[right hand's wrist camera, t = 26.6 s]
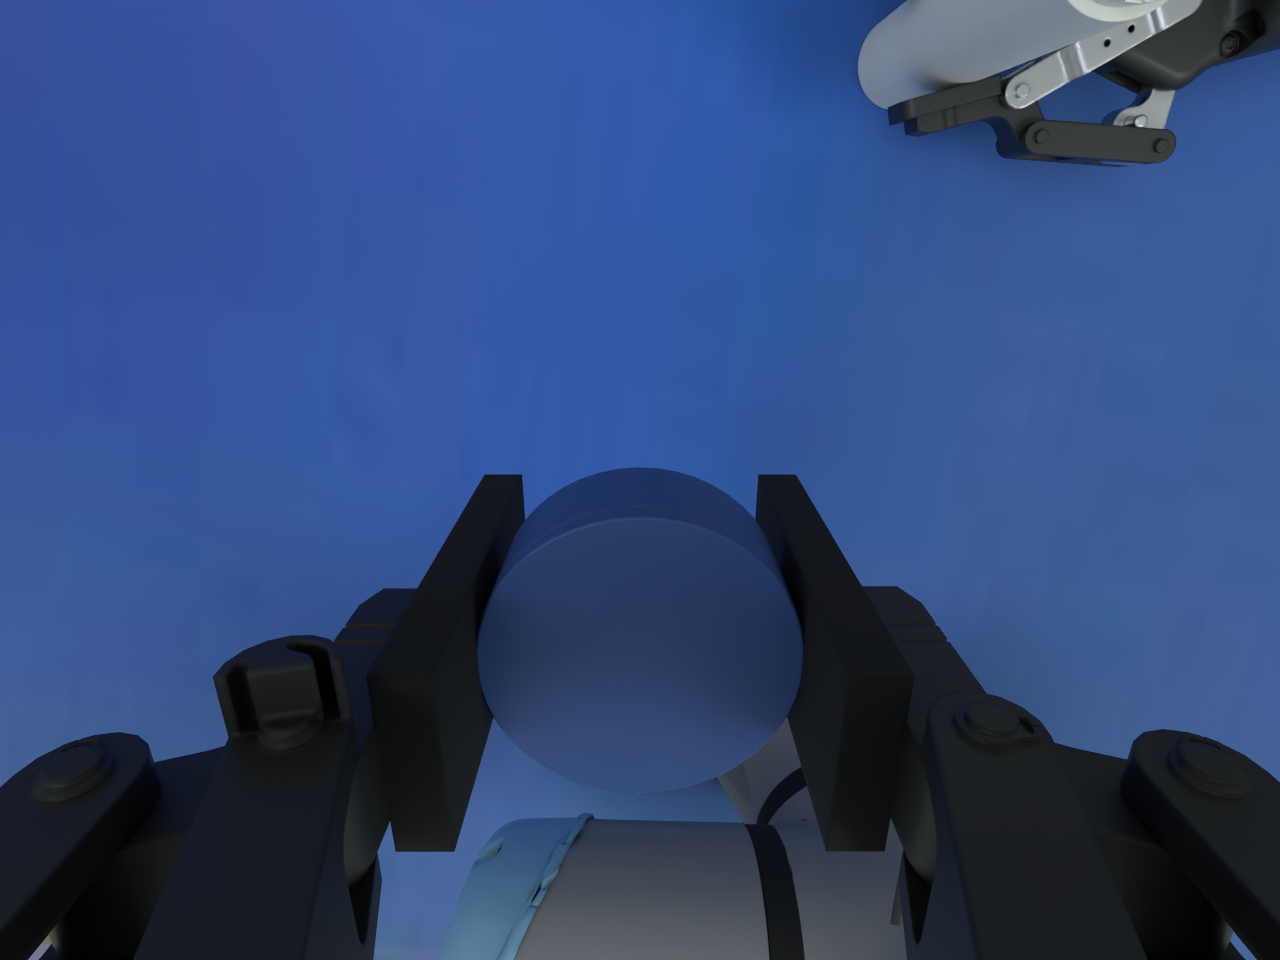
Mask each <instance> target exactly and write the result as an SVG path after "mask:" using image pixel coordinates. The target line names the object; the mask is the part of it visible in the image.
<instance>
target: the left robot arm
mask: <svg viewBox="0 0 1280 960" xmlns="http://www.w3.org/2000/svg"><path fill="white" fill-rule="evenodd" d="M1276 49H1280V0H1168V1H1167V2H1165V3H1164V4H1163V5H1161V6H1160V7H1158V8H1157V9H1155V10H1153V11H1152V12H1150V13H1148V14H1146V15H1143V16H1141V17H1139V18H1136V19H1134V20H1131V21H1129V22H1126V23H1124V24H1121V25H1119V26H1116V27H1114V28H1111V29H1108V30H1106V31H1103V32H1101V33H1098V34H1096V35H1093V36H1091V37H1088V38H1086V39H1083V40H1081V41H1078V42H1075V43H1073V44H1070V45H1068V46H1065V47H1063V48H1060V49H1058V50H1055V51H1053V52H1050V53H1048V54H1045V55H1042V56H1040V57H1037V58H1035V59H1032V60H1030V61H1027V62H1026V63H1025V64H1024V65H1022V66H1021V67H1019V68H1017V69H1016V70H1014V71H1012V72H1010V73H1009V74H1007V75H1005V76H1004V77H1002V78H1001V75H1000V74H999V75H995V76H992V77H988V78H984V79H981V80H978V81H975V82H970V83H966V84H963V85H959V86H955V87H952V88H948V89H944V90H941V91H937V92H933V93H930V94H926V95H923V96H919V97H915V98H912V99H908V100H905V101H902V102H899V103H897V104H894V105H892V106H890V107H888V117H889V126H890V125H894V124H898V123H902V122H904V127H905V135H911V136H917V137H918V136H922V135H926V134H929V133H933V132H937V131H941V130H944V129H948V128H952V127H955V126H959V125H963V124H967V123H970V122H974V121H984V122H987V123H988V124H990V125H991V126H992V128H993V130H994V132H995V134H996V136H997V141H996V150H997V152H998V154H999V155H1000V156H1001V157H1003V158H1009V159H1022V160H1035V161H1048V162H1060V163H1073V164H1086V165H1099V166H1112V167H1121V166H1131V165H1141V164H1152V163H1160V162H1163V161H1165V160H1166V159H1168V158H1169V157H1170V156H1171V154H1172V153H1173V151H1174V149H1175V146H1176V138H1175V135H1174V133H1173V132H1172V131H1170V130H1167V129H1164V128H1165V124H1166V121H1167V118H1168V115H1169V111H1170V108H1171V105H1172V101H1173V98H1174V95H1175V92H1176V90H1178V89H1180V88H1182V87H1184V86H1186V85H1188V84H1189V83H1190V82H1192V81H1193V80H1194V79H1195V78H1196V77H1197V76H1198V75H1200V74H1201V73H1202V72H1204V71H1205V70H1207V69H1209V68H1210V67H1213V66H1216V65H1220V64H1224V63H1228V62H1231V61H1235V60H1239V59H1243V58H1246V57H1250V56H1254V55H1258V54H1261V53H1265V52H1269V51H1272V50H1276ZM1091 71H1093V72H1095V73H1097V74H1099V75H1101V76H1103V77H1105V78H1107V79H1109V80H1111V81H1113V82H1115V83H1116V84H1118V85H1120V86H1122V87H1124V88H1126V89H1128V90H1130V91H1132V92H1134V93H1136V94H1137V97H1136V98H1135V100H1134V102H1133V103H1132V104H1131V105H1130V106H1128V107H1127V108H1124V109H1119V110H1115V111H1112V112H1110V113H1108V114H1107V115H1106V116H1105V117H1104V119H1103V120H1102V122H1101V124H1093V123H1081V122H1068V121H1055V120H1045V119H1044V117H1043V114H1042V112H1041V110H1040V107H1039V105H1038V102H1037V100H1039V99H1040V98H1042V97H1044V96H1046V95H1047V94H1049V93H1051V92H1053V91H1054V90H1056V89H1058V88H1059V87H1061V86H1063V85H1065V84H1066V83H1068V82H1070V81H1072V80H1075V79H1077V78H1079V77H1081V76H1083V75H1085V74H1087V73H1089V72H1091Z"/></svg>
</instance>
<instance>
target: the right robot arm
mask: <svg viewBox="0 0 1280 960" xmlns="http://www.w3.org/2000/svg"><path fill="white" fill-rule="evenodd" d="M524 521H525V513H524V497H523V482H522V475H484V477H483V478H482V480H481V482H480V483H479V485H478V487H477V489H476V490H475V492H474V494H473V495H472V497H471V499H470V500H469V502H468V504H467V505H466V507H465V509H464V510H463V512H462V514H461V516H460V517H459V519H458V521H457V522H456V524H455V526H454V527H453V529H452V531H451V532H450V534H449V536H448V538H447V539H446V541H445V543H444V544H443V546H442V548H441V549H440V551H439V553H438V554H437V556H436V558H435V560H434V561H433V563H432V565H431V566H430V568H429V570H428V571H427V573H426V575H425V576H424V578H423V580H422V581H421V583H420V585H419V587H418V588H417V589H383V590H381V591H380V592H378V593H377V594H375V595H374V596H372V597H371V598H369V599H368V600H366V601H365V602H363V603H362V604H360V605H359V607H358V608H357V609H356V611H355V612H354V614H353V615H352V616H351V618H350V619H349V621H348V622H347V623H346V628H343V629H342V630H341V632H340V633H339V635H338V636H337V637H336V639H335V640H334V642H332V641H331V640H330V639H326V638H322V637H318V636H314V635H300V636H287V637H283V638H278V639H274V640H269V641H266V642H263V643H261V644H258V645H256V646H253V647H251V648H249V649H246V650H244V651H242V652H241V653H239V654H238V655H236V656H235V657H233V658H232V659H230V660H229V661H227V662H226V663H224V665H223V666H222V667H221V668H220V669H219V670H218V672H217V673H216V674H215V675H214V676H213V680H214V683H215V687H216V691H217V695H218V699H219V702H220V706H221V710H222V714H223V717H224V721H225V725H226V729H227V732H228V736H229V738H228V740H227V743H226V745H225V746H223V747H220V748H216V749H213V750H209V751H205V752H200V753H196V754H191V755H186V756H182V757H177V758H173V759H168V760H163V761H159V762H154V761H153V757H152V754H151V751H150V748H149V745H148V743H146V742H145V741H144V740H143V739H142V738H140V737H139V736H138V735H133V734H127V733H120V732H117V733H109V734H100V735H93V736H90V737H86V738H82V739H80V740H75V741H73V742H70V743H67V744H64V745H62V746H61V747H59V748H57V749H55V750H53V751H51V752H49V753H47V754H45V755H43V756H41V757H39V758H37V759H36V760H34V761H33V762H31V763H30V764H29V765H27V766H26V767H25V768H23V769H22V770H20V771H19V772H18V773H16V774H15V775H14V776H12V777H11V778H10V779H9V780H8V781H7V782H6V783H5V784H4V785H2V786H1V787H0V960H28V959H29V958H30V956H31V955H32V954H33V953H34V952H35V950H36V949H37V948H38V947H39V945H40V944H41V943H42V942H43V941H44V939H45V938H46V937H47V936H48V935H49V938H50V940H51V942H52V944H51V945H50V947H49V948H48V949H47V950H46V952H45V953H44V954H43V955H42V957H41V958H40V959H39V960H373V956H374V947H375V938H376V929H377V920H378V911H379V902H380V892H381V883H382V878H381V871H380V864H379V859H378V853H377V851H378V849H379V846H380V844H381V842H382V839H383V837H384V834H385V832H386V829H387V827H388V824H389V822H390V821H391V827H392V833H393V839H394V845H395V850H396V852H454V851H455V848H456V844H457V841H458V837H459V834H460V831H461V827H462V824H463V820H464V817H465V813H466V810H467V806H468V803H469V800H470V796H471V793H472V789H473V786H474V782H475V779H476V775H477V772H478V769H479V765H480V762H481V758H482V755H483V751H484V748H485V744H486V741H487V738H488V734H489V731H490V727H491V724H492V720H493V717H494V716H493V714H492V713H491V711H490V709H489V707H488V705H487V703H486V700H485V698H484V695H483V692H482V689H481V686H480V678H479V669H478V658H477V635H478V630H479V626H480V622H481V619H482V615H483V612H484V610H485V607H486V605H487V602H488V599H489V597H490V594H491V592H492V589H493V587H494V584H495V582H496V579H497V576H498V574H499V571H500V569H501V566H502V564H503V561H504V559H505V556H506V553H507V551H508V549H509V547H510V544H511V542H512V540H513V538H514V536H515V535H516V533H517V532H518V530H519V528H520V527H521V525H522V524H523V522H524ZM755 521H756V522H757V523H758V525H759V526H760V528H761V529H762V531H763V532H764V534H765V535H766V537H767V539H768V541H769V543H770V545H771V547H772V550H773V552H774V555H775V557H776V560H777V562H778V565H779V568H780V570H781V573H782V575H783V578H784V580H785V583H786V585H787V588H788V591H789V593H790V596H791V598H792V601H793V603H794V606H795V608H796V611H797V614H798V618H799V621H800V624H801V627H802V633H803V640H804V652H803V663H802V673H801V682H800V687H799V690H798V693H797V697H796V700H795V702H794V704H793V706H792V708H791V710H790V712H789V714H788V716H787V717H786V719H785V720H784V722H783V723H782V725H781V726H780V728H779V729H778V731H777V732H776V733H775V734H774V735H773V736H772V737H771V738H770V740H769V741H768V742H767V743H766V744H765V745H764V746H763V747H762V748H760V749H759V750H758V751H757V752H756V753H755V754H754V755H752V756H751V757H750V758H748V759H747V760H745V761H744V762H743V763H741V764H740V765H738V766H737V767H735V768H733V769H731V770H729V771H727V772H726V773H724V774H722V775H720V776H718V777H717V778H718V780H719V782H720V784H721V786H722V787H723V789H724V791H725V793H726V794H727V796H728V798H729V799H730V801H731V803H732V804H733V806H734V808H735V809H736V811H737V812H738V814H739V816H740V817H741V819H742V821H743V822H744V824H743V823H720V822H680V821H639V820H609V819H594V817H593V814H591V813H583V814H581V815H580V816H578V817H577V818H539V819H521V820H516V821H513V822H510V823H508V824H506V825H505V826H503V827H502V828H500V829H499V830H498V831H497V832H495V833H494V834H493V836H492V837H491V838H490V839H489V840H488V841H487V843H486V844H485V845H484V847H483V848H482V850H481V851H480V853H479V855H478V857H477V859H476V860H475V862H474V864H473V866H472V869H471V871H470V873H469V875H468V877H467V880H466V882H465V884H464V887H463V889H462V892H461V894H460V897H459V900H458V902H457V905H456V908H455V911H454V914H453V917H452V920H451V923H450V926H449V929H448V932H447V935H446V938H445V942H444V945H443V948H442V952H441V955H440V959H439V960H1245V959H1244V958H1243V957H1242V956H1241V954H1240V953H1239V952H1238V951H1237V949H1236V948H1235V947H1234V946H1233V944H1232V943H1231V942H1230V939H1231V937H1232V935H1233V932H1235V933H1236V935H1237V936H1238V937H1239V938H1240V939H1241V941H1242V942H1243V943H1244V944H1245V946H1246V947H1247V948H1248V949H1249V950H1250V952H1251V953H1252V954H1253V955H1254V957H1255V958H1256V959H1257V960H1280V782H1279V781H1277V780H1276V779H1275V778H1274V777H1273V776H1272V775H1271V774H1270V773H1269V772H1267V771H1266V770H1264V769H1263V768H1262V767H1260V766H1259V765H1257V764H1256V763H1255V762H1253V761H1252V760H1251V759H1249V758H1248V757H1246V756H1245V755H1243V754H1241V753H1239V752H1237V751H1235V750H1233V749H1231V748H1229V747H1227V746H1225V745H1223V744H1221V743H1220V742H1217V741H1215V740H1212V739H1209V738H1206V737H1201V736H1200V735H1196V734H1192V733H1189V732H1181V731H1173V730H1165V729H1161V730H1155V731H1149V732H1144V733H1142V734H1141V735H1140V736H1139V737H1138V738H1136V739H1135V740H1134V741H1133V744H1132V747H1131V750H1130V753H1129V756H1128V759H1127V760H1126V759H1122V758H1117V757H1113V756H1108V755H1103V754H1099V753H1094V752H1090V751H1085V750H1080V749H1076V748H1072V747H1068V746H1064V745H1061V744H1057V743H1054V741H1053V739H1052V737H1051V735H1050V734H1049V733H1048V731H1047V730H1046V728H1045V727H1044V726H1043V724H1042V723H1041V721H1039V720H1038V719H1037V718H1036V717H1034V716H1033V715H1032V714H1030V713H1029V712H1028V711H1026V710H1025V709H1024V708H1022V707H1020V706H1018V705H1016V704H1014V703H1012V702H1010V701H1007V700H1005V699H1003V698H1001V697H998V696H994V695H990V694H987V693H986V692H985V691H984V689H983V688H982V687H981V685H980V684H979V682H978V681H977V680H976V678H975V677H974V675H973V674H972V673H971V671H970V670H969V668H968V667H967V666H966V664H965V663H964V661H963V660H962V659H961V657H960V656H959V655H958V653H957V652H956V650H955V649H954V648H953V646H952V645H951V643H950V642H947V638H946V636H945V635H944V634H943V632H942V631H941V630H940V628H939V627H938V626H935V621H934V620H933V618H932V617H931V616H930V614H929V613H928V611H927V610H926V609H925V607H924V606H923V604H922V603H921V602H919V601H918V600H916V599H915V598H913V597H912V596H910V595H909V594H907V593H906V592H904V591H903V590H901V589H900V588H899V587H897V586H861V584H860V582H859V581H858V579H857V577H856V576H855V574H854V572H853V571H852V569H851V567H850V565H849V564H848V562H847V560H846V559H845V557H844V555H843V554H842V552H841V550H840V549H839V547H838V545H837V544H836V542H835V540H834V538H833V537H832V535H831V533H830V532H829V530H828V528H827V527H826V525H825V523H824V522H823V520H822V518H821V517H820V515H819V513H818V511H817V510H816V508H815V506H814V505H813V503H812V501H811V500H810V498H809V496H808V495H807V493H806V491H805V489H804V488H803V486H802V484H801V483H800V481H799V479H798V478H797V476H796V475H758V489H757V504H756V519H755Z"/></svg>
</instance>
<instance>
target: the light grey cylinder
mask: <svg viewBox="0 0 1280 960" xmlns="http://www.w3.org/2000/svg"><path fill="white" fill-rule="evenodd" d="M1167 1H1168V0H907V1H906V2H904V3H903V4H902V5H901V6H899V7H898V8H897V9H896V10H894V11H893V12H892V13H891V14H889V15H888V16H887V17H886V18H884V19H883V20H882V21H881V22H879V23H878V24H877V25H876V26H875V27H874V28H873V29H872V30H871V32H870V33H869V34H868V36H867V38H866V39H865V41H864V43H863V45H862V48H861V51H860V55H859V60H858V75H859V80H860V84H861V87H862V89H863V91H864V93H865V94H866V96H867V97H868V98H869V99H870V100H871V101H872V102H873V103H874V104H876V105H877V106H879V107H881V108H884V109H887V110H888V107H890V106H892V105H894V104H897V103H899V102H902V101H905V100H908V99H912V98H915V97H919V96H923V95H926V94H930V93H933V92H937V91H941V90H944V89H948V88H952V87H955V86H959V85H963V84H966V83H970V82H975V81H978V80H981V79H984V78H987V77H989V76H992V75H994V74H997V73H999V72H1002V71H1004V70H1007V69H1009V68H1012V67H1015V66H1017V65H1020V64H1022V63H1025V62H1027V61H1030V60H1032V59H1035V58H1037V57H1040V56H1042V55H1045V54H1048V53H1050V52H1053V51H1055V50H1058V49H1060V48H1063V47H1065V46H1068V45H1070V44H1073V43H1075V42H1078V41H1081V40H1083V39H1086V38H1088V37H1091V36H1093V35H1096V34H1098V33H1101V32H1103V31H1106V30H1108V29H1111V28H1114V27H1116V26H1119V25H1121V24H1124V23H1126V22H1129V21H1131V20H1134V19H1136V18H1139V17H1141V16H1143V15H1146V14H1148V13H1150V12H1152V11H1153V10H1155V9H1157V8H1158V7H1160V6H1161V5H1163V4H1164V3H1165V2H1167Z"/></svg>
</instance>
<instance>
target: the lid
mask: <svg viewBox="0 0 1280 960" xmlns="http://www.w3.org/2000/svg"><path fill="white" fill-rule="evenodd" d="M803 652H804V640H803V633H802V627H801V624H800V621H799V618H798V614H797V611H796V608H795V606H794V603H793V601H792V598H791V596H790V593H789V591H788V588H787V585H786V583H785V580H784V578H783V575H782V573H781V570H780V568H779V565H778V562H777V560H776V557H775V555H774V552H773V550H772V547H771V545H770V543H769V541H768V539H767V537H766V535H765V534H764V532H763V531H762V529H761V528H760V526H759V525H758V523H757V522H756V521H755V519H754V518H753V517H752V516H751V515H750V514H749V513H748V512H747V511H746V510H745V508H744V507H743V506H741V505H740V504H739V503H738V502H737V501H735V500H734V499H733V498H732V497H730V496H729V495H728V494H726V493H725V492H723V491H721V490H720V489H718V488H716V487H715V486H713V485H711V484H709V483H707V482H704V481H702V480H700V479H698V478H695V477H692V476H689V475H686V474H682V473H679V472H675V471H669V470H663V469H657V468H626V469H616V470H611V471H606V472H602V473H597V474H595V475H592V476H589V477H586V478H583V479H580V480H578V481H576V482H574V483H572V484H570V485H568V486H566V487H564V488H562V489H561V490H559V491H558V492H556V493H555V494H553V495H552V496H550V497H549V498H547V499H546V500H545V501H544V502H543V503H542V504H540V505H539V506H538V507H537V508H536V509H535V510H534V511H533V512H532V513H531V514H530V515H529V517H528V518H527V519H526V520H525V521H524V522H523V524H522V525H521V527H520V528H519V530H518V532H517V533H516V535H515V536H514V538H513V540H512V542H511V544H510V547H509V549H508V551H507V553H506V556H505V559H504V561H503V564H502V566H501V569H500V571H499V574H498V576H497V579H496V582H495V584H494V587H493V589H492V592H491V594H490V597H489V599H488V602H487V605H486V607H485V610H484V612H483V615H482V619H481V622H480V626H479V630H478V635H477V658H478V669H479V678H480V686H481V689H482V692H483V695H484V698H485V700H486V703H487V705H488V707H489V709H490V711H491V713H492V714H493V716H494V718H495V720H496V721H497V723H498V724H499V725H500V727H501V728H502V730H503V731H504V732H505V734H506V735H507V736H508V737H509V738H510V739H511V740H512V741H513V742H514V743H515V744H516V745H517V746H518V747H519V748H520V749H521V750H522V751H523V752H525V753H526V754H527V755H528V756H529V757H531V758H532V759H533V760H535V761H536V762H538V763H539V764H541V765H543V766H544V767H546V768H547V769H549V770H551V771H553V772H555V773H557V774H559V775H561V776H563V777H565V778H567V779H570V780H573V781H576V782H578V783H581V784H584V785H588V786H592V787H596V788H600V789H604V790H611V791H619V792H633V793H649V792H663V791H669V790H675V789H681V788H685V787H689V786H692V785H696V784H700V783H702V782H705V781H708V780H710V779H713V778H715V777H718V776H720V775H722V774H724V773H726V772H727V771H729V770H731V769H733V768H735V767H737V766H738V765H740V764H741V763H743V762H744V761H745V760H747V759H748V758H750V757H751V756H752V755H754V754H755V753H756V752H757V751H758V750H759V749H760V748H762V747H763V746H764V745H765V744H766V743H767V742H768V741H769V740H770V738H771V737H772V736H773V735H774V734H775V733H776V732H777V731H778V729H779V728H780V726H781V725H782V723H783V722H784V720H785V719H786V717H787V716H788V714H789V712H790V710H791V708H792V706H793V704H794V702H795V700H796V697H797V693H798V690H799V687H800V682H801V673H802V663H803Z"/></svg>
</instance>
